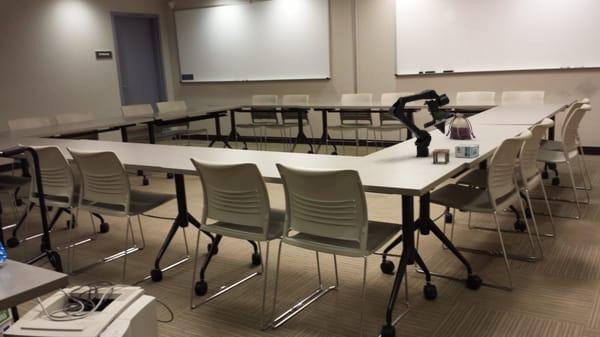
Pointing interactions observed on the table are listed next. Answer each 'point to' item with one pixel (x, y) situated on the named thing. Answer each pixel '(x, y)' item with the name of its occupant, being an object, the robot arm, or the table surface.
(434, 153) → the walnut stool
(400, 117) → the robot arm
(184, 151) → the table surface
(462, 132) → the pouch
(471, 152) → the light bulb box
